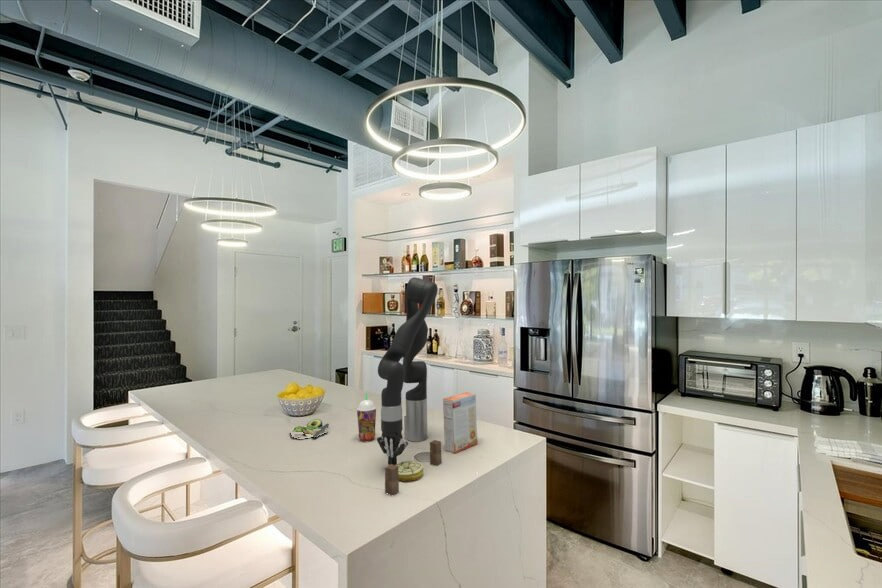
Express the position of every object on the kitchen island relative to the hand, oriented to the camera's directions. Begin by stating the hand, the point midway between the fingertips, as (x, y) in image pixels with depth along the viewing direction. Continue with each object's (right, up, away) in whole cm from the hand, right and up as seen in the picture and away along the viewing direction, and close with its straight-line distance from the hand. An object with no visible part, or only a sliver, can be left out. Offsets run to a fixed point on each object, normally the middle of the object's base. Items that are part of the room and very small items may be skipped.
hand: (392, 466), depth 141 cm
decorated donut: (+6, -2, -4) cm, 7 cm away
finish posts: (+9, -1, -5) cm, 10 cm away
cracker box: (+25, -2, +21) cm, 33 cm away
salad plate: (-43, -4, +44) cm, 62 cm away
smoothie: (-15, -3, +32) cm, 36 cm away
